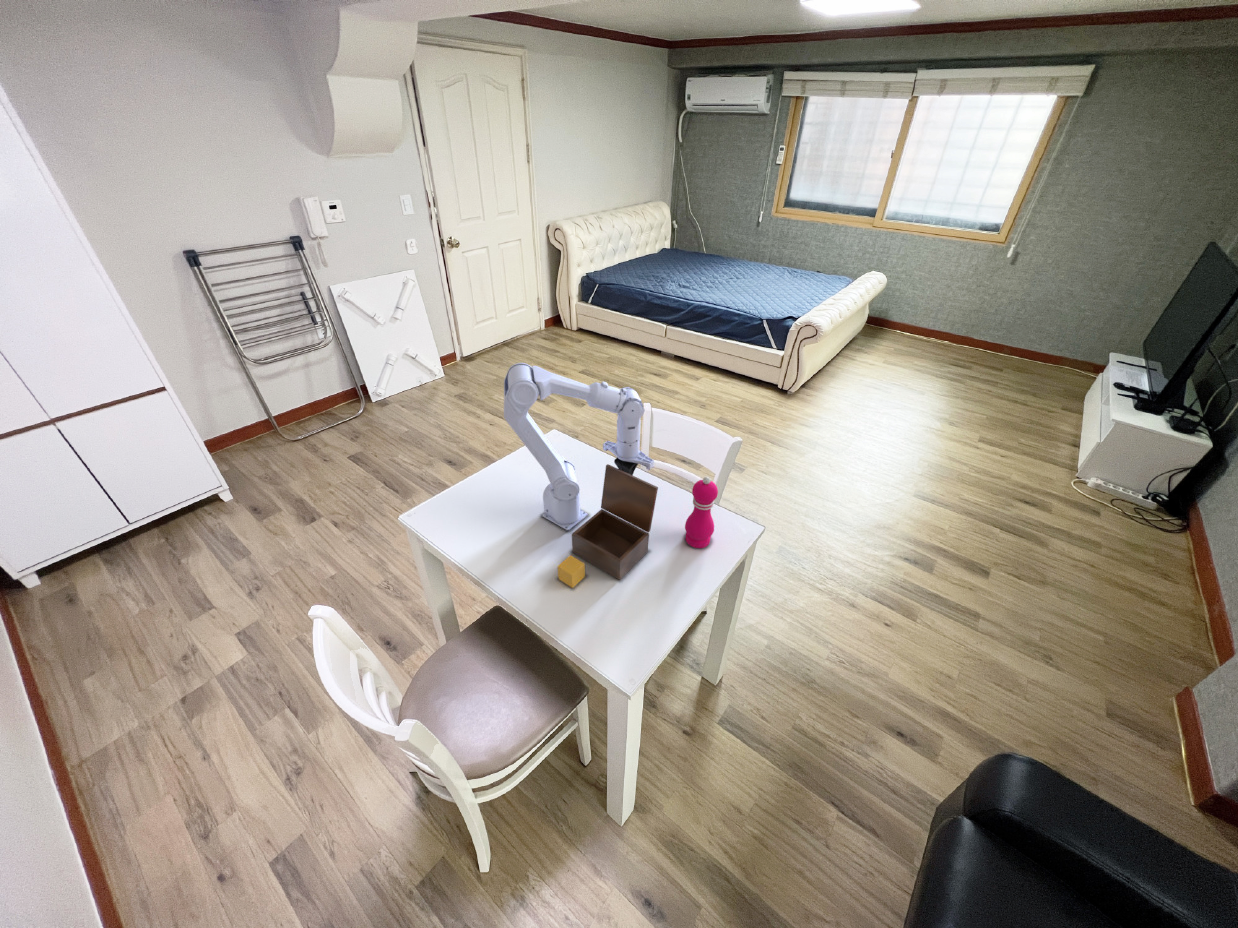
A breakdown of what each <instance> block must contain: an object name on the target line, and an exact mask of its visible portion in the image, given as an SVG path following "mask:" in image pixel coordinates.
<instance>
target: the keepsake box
mask: <svg viewBox="0 0 1238 928" xmlns="http://www.w3.org/2000/svg"><path fill="white" fill-rule="evenodd" d="M649 543H650V532H646V531H644V530H642V529H640V528H639V527H637V526H635V525H633V524H631V523H629V522H627V521H625V520H623V519H621V518H619V517H617V516H615V515H613V514H612V513H610V512H608V511H606V510H604V509H602V508H601V509H600V510H598V511H597V512H596V513H594V514H593V516H591V517H590V518H589V519H588V520H587V521H586V522H584V523H583V524H582V525H581V526H579V527H578V528H577V529H575V530H574V531H573V532H572V533H571V551H572V553H573V554H575V555H577V556H578V557H579V558H581V559H583V560H584V561H587V562H588V563H590V564H592V565H593V566H595V567H597V568H598V569H600V570H602V571H603V572H605V573H606V574H608V575H610V576H612V577H613V578H615V579H617V580H618V581H621V580H622V579H623V577H625V576H626V575H627V574H628V573H629V572H630V570H632V569H633V567H634V566H635V565H637V564H638V563H639V561H640V560H641V559H642V558H643V557H644V556H645V555H646V554H647V553H648V552H649Z"/></svg>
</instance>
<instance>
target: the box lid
mask: <svg viewBox="0 0 1238 928" xmlns="http://www.w3.org/2000/svg"><path fill="white" fill-rule="evenodd" d="M658 490H659V487H658V486H656V485H655V484H652V483H650V482H648V481H646V480H644V479H641V478H639V477H636V476H634V474H633V475H630V474H628V473H626V472H624V471H622V470H620V469H618V467H615V466H613V465H611V464H607V463H606V464H605V471H604V478H603V486H602V496H601V501H600V502H601V503H600V508H601V509H603V510H605V511H607V512H609V513H611V514H613V515H614V516H616V517H618V518H620V519H622V520H624V521H626V522H628V523H630V524H632V525H634V526H636V527H638V528H640V529H641V530H643V531H645V532H647V533H651V530H652V529H651V528H652V523H653V517H654V511H655V506H656V500H657V495H658Z"/></svg>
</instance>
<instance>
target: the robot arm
mask: <svg viewBox="0 0 1238 928" xmlns="http://www.w3.org/2000/svg"><path fill="white" fill-rule="evenodd" d="M553 394H554V395H559V396H563V397H564V396H565V397H570V398H573V399H574V398H575V399H579V400H584V401H585V402H586V403H587V406H588V407H589V408H593V409H598V410H601V411H604V412H608V413H613V414H617V418H616V442H613V441H610V440H606V441H605V442H603V443H602V451H605V452H607V451H608V452H610V453H611V454H613V455H614V457H616V458H614V464H615V466H616V468H617V469H620V470H622V471H624V472H626V473H628V474H630V475H633V476H634V473H635V471H636V468H637V467H638V465H640V466H643V467H645V469H646V470H648V471H650V470H652V469H653V468H654V466H655V459H652V458H651V457H649V456H648V455H646V454H645V453H644V452H643V451H642V450H641V449H640V448H641V446H640V443H641V425H642V423H641V422H642V421H641V419H642V417H643V416H644V414H645V412H646V411H645V410H646V409H645V408H644V404H643V402H642V399H641V397H640V396H639V393H638V392H637V391H636V389H634V388H631V387H630V386H625V387H622V388H617V387H614V386H611V385H609V383H608V382H607V381H601V382H597V381H595V382H593V383H590V384H586V383H583V382H580V381H577V380H575V379H572V378H569V377H566V376H563V375H560V374H557V373H554V372H551V371H549V370H546V369H545V368H542V367H540V366H538V365H530V364H528V363H526V362H517V363H514V364H512V365H511V366H510V367H509V368H508V369H507V372H506V375H505V377H504V379H503V418H504V420H505V422H506V423H507V424H508V426H509V427H510V428H511V429H512V430H513V432H514V433H515V435H517V437H518V438H519V440H520V441H521V442H522V443H523V444H524V446H525V447H526V448H527V450H528V451H529V452H530V454H531V455H532V456H533V457H534V459H535V460H536V461H537V462H538V464H539V465H540V467H541V468H542V469H543V471H545V474H546V476H547V479H548V481H549V484H548V485H547V486H546V487H545V488H544V490H543V493H542V502H543V503H542V504H543V513H542V514H541V515H542V517H543V518H544V519H546V520H548V521H550V522H552V523H553V524H555V525H557V526H559V527H561V528H562V529H563V530H566V531H570V530H571V529H573V528H574V527H575V526H576V525H578V523H580V522H581V521H583V520H584V518H586V517H588V513H587V512H586V511H584V510H582V509H581V499H580V498H581V497H580V485H579V483H578V480H577V479H578V478H577V474H576V468H575V465H574V463H573V462H571V461H569V460H567V459H566V458H565V457H564V456H563V455H562V454H559V452H557V450H556V449H555V448H554V446H553V445H552V443H551V442H550V441H549V439H548V438H547V436H546V435H545V433H544V432H543V430H542V429H541V428H540V426H538V424H537V423H536V422H535V420H534V418H532V416H531V415H530V413H529V410H530V409H531V408H532V406H533V405H534V404H535V403H536V402H537V400H538V399H540V401H544V400H545V399H546V398H548V397H550V395H553ZM538 397H539V398H538Z"/></svg>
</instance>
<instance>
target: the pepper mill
mask: <svg viewBox="0 0 1238 928" xmlns="http://www.w3.org/2000/svg"><path fill="white" fill-rule="evenodd" d="M691 494H692V504H693V510H692V512H691V514H689V515H688V517H687V519H686V521H685V524H684V529H685V542H686V544H687V545H689V546H690V547H692V548H694V549H704V548H707V547H708V546H709V545H710V544H711V539H712V535H714V532H715V522H714V518H713V516H712V512H711V511H712V508H714V506H715V500H717V498H718V494H719V489H718V486H717V485H716V483H715V482H714V481H712V480H711V478H710V477H709V476H704V477H703V479H699V480H697V481H696V482H695V483H693V487H692V488H691Z"/></svg>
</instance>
